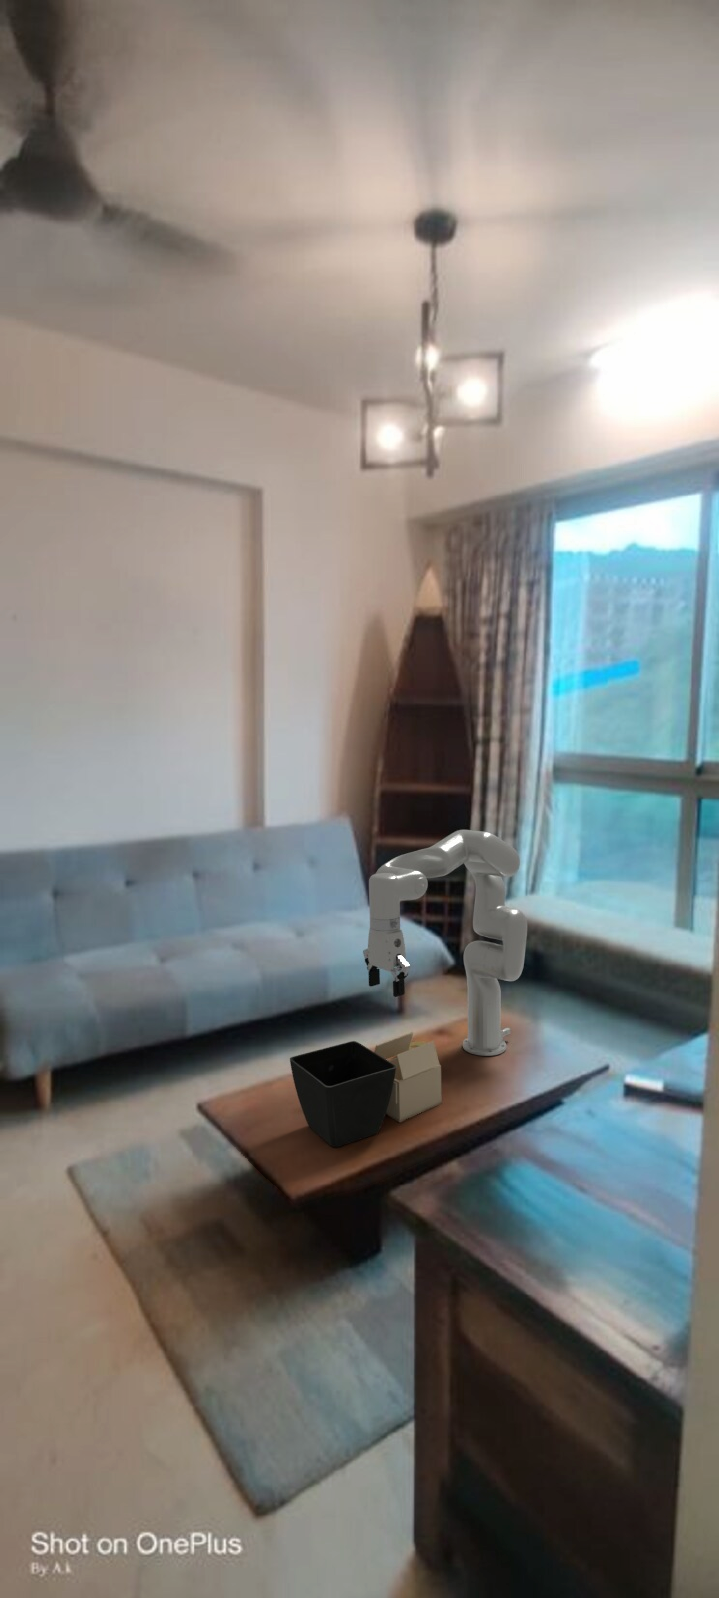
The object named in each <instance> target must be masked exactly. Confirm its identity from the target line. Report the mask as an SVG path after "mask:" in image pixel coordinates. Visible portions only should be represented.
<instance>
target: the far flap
mask: <svg viewBox="0 0 719 1598" xmlns="http://www.w3.org/2000/svg"><path fill="white" fill-rule="evenodd" d="M413 1035H414V1032H413V1031H411V1032H408V1033H405V1034H402V1035H400V1036H397V1037H394V1038H391V1039H389V1040H385V1041H383V1042H380V1043H378V1044H376V1045H375V1049H374V1051H373V1052H374V1053H376V1054H378V1055H379V1056H381V1057H383V1058H384V1059H386V1060H387V1059H388V1060H389V1059H391V1058H392V1057H393V1058H394V1057H397V1056H396V1055H398V1054H400V1053H403V1052H406V1051H408V1050H409V1047H410V1043H411V1042H412V1038H413Z"/></svg>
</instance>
